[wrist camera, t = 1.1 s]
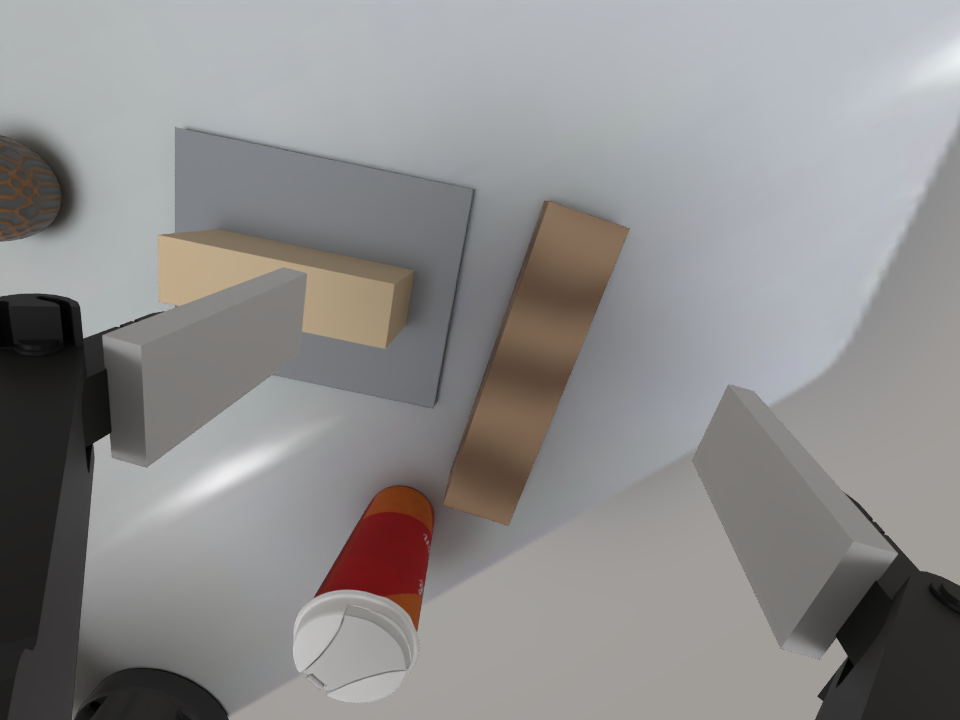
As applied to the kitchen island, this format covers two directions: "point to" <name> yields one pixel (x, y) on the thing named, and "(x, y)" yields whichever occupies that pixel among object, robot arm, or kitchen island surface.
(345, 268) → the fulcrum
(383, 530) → the paper cup
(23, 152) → the vase
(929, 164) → the kitchen island surface
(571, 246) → the walnut bar
